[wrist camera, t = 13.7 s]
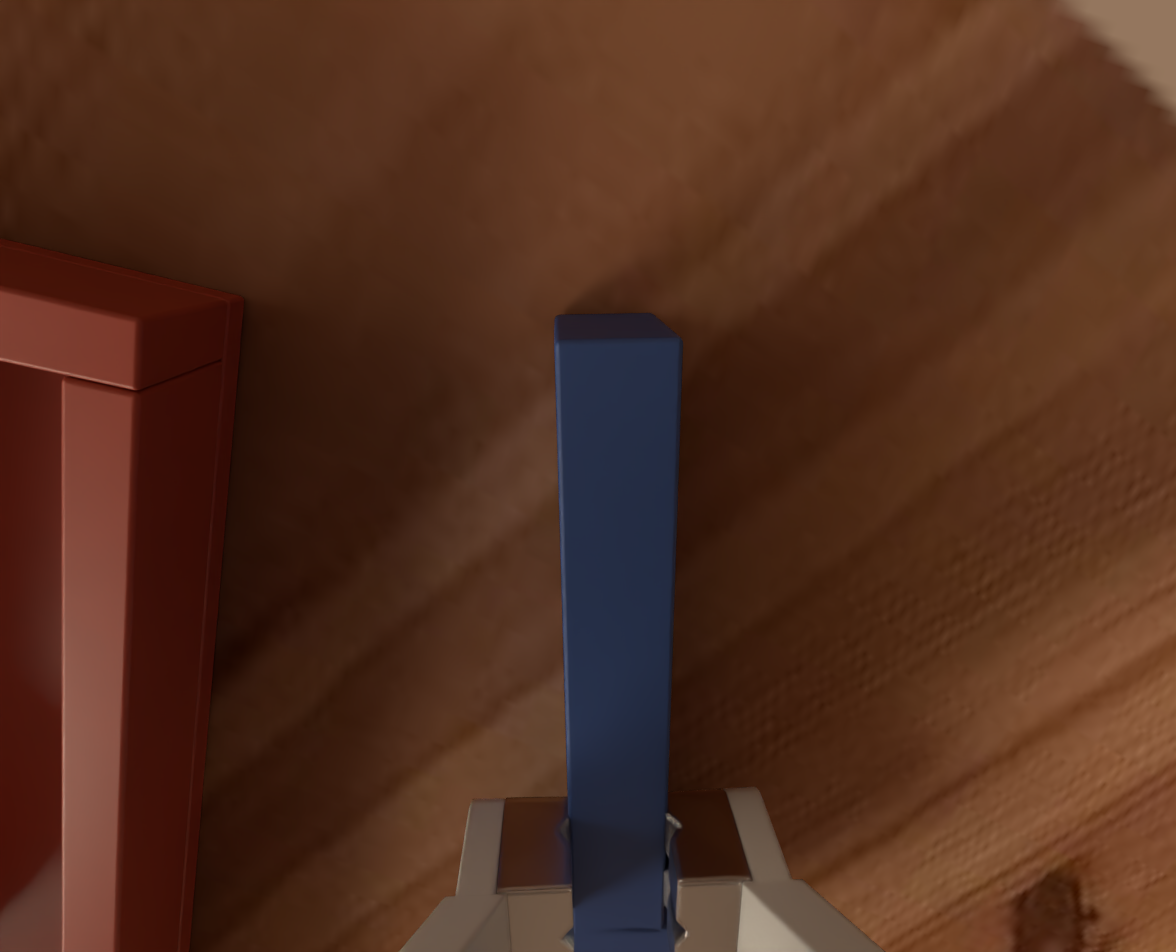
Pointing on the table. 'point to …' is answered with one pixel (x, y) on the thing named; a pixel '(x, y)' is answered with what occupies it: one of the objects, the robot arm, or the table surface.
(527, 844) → the robot arm
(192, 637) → the red tray
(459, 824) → the table surface
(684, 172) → the table surface
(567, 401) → the blue spoon
